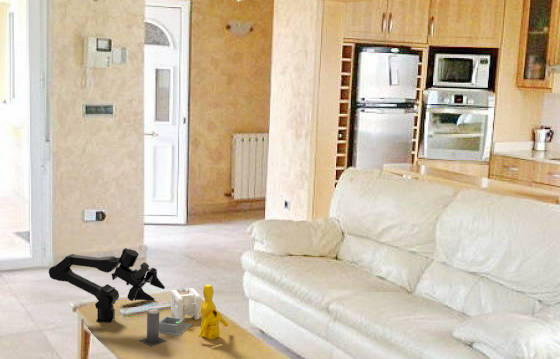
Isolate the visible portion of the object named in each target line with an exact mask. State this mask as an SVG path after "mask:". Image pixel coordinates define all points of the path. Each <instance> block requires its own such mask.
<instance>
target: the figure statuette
mask: <svg viewBox="0 0 560 359" xmlns="http://www.w3.org/2000/svg"><path fill="white" fill-rule="evenodd" d="M214 291H215V290H214V287H213V285H211V284H206V285H204V286H203V298H204V302H203V304H202V306H201V308H200V314H201V323H200V329H199V330H200V331H199V333H198V337H199V338H201V337H202V338H206V339H208V340H216V339H217V338H219V337H220V326H219V324H220V323H221V324H222V325H223V326H224V327H225V328H226V327H229V324H228V322H227V321H226V320H225V319H224V317H223V316H222V315H221V312H219V311H217V307H216V305H215V302H214V301H213V297H214Z"/></svg>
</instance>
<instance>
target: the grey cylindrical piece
mask: <svg viewBox="0 0 560 359" xmlns="http://www.w3.org/2000/svg"><path fill="white" fill-rule="evenodd" d="M146 316H147V317H146V338H147V342H148V343H157V342H158V341H159V338H160V336H159V335H160V333H159V321H160V311H159V309H158V308H149V309H148V311H147V312H146Z"/></svg>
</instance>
